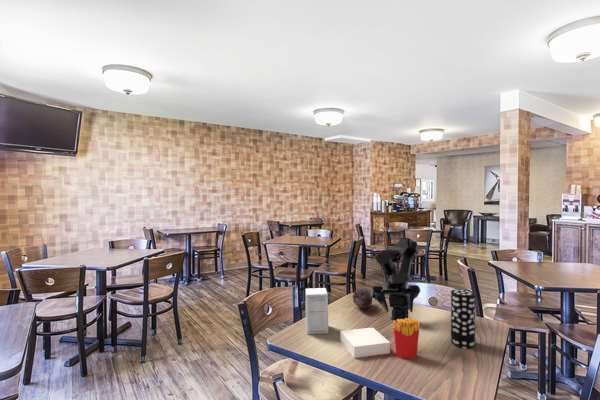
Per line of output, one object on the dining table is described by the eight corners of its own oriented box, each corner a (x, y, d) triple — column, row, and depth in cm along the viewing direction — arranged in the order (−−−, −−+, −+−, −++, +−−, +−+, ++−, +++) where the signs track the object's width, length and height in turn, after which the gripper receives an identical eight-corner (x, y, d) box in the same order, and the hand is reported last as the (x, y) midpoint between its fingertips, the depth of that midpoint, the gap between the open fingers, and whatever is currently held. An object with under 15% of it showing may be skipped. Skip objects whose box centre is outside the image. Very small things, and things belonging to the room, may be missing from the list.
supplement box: (326, 325, 147) (326, 287, 147) (329, 333, 138) (328, 293, 137) (305, 325, 147) (305, 287, 146) (306, 334, 138) (305, 294, 137)
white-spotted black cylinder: (472, 340, 130) (472, 290, 130) (476, 350, 122) (476, 296, 122) (449, 337, 133) (449, 288, 133) (452, 347, 125) (452, 294, 125)
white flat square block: (372, 337, 134) (372, 327, 134) (389, 353, 121) (389, 342, 120) (340, 340, 131) (340, 331, 131) (354, 357, 117) (354, 346, 117)
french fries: (394, 358, 117) (394, 321, 117) (392, 352, 121) (392, 317, 121) (421, 359, 116) (421, 322, 116) (418, 353, 120) (418, 317, 120)
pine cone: (371, 315, 158) (371, 294, 158) (350, 313, 160) (350, 293, 160) (373, 303, 175) (373, 284, 175) (354, 302, 178) (354, 283, 177)
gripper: (371, 265, 131) (379, 302, 120) (418, 265, 131) (430, 301, 120) (367, 280, 139) (374, 315, 128) (411, 279, 139) (421, 315, 128)
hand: (399, 311), depth 126 cm, fingers open, 9 cm apart
